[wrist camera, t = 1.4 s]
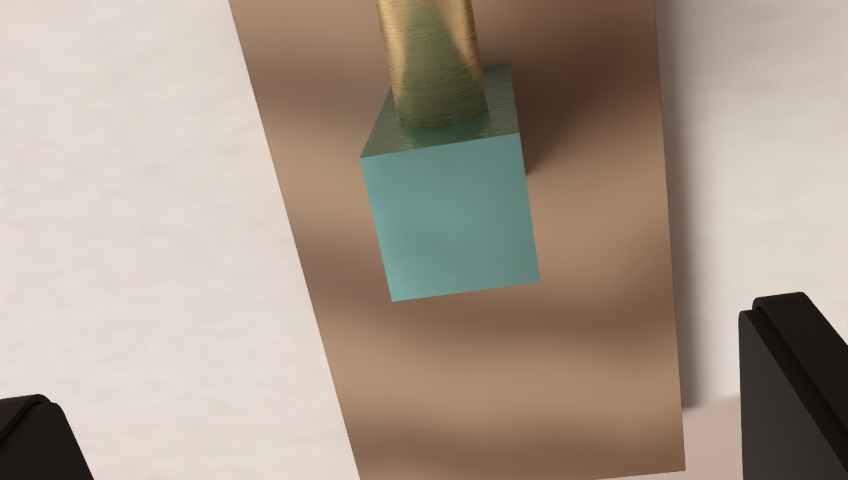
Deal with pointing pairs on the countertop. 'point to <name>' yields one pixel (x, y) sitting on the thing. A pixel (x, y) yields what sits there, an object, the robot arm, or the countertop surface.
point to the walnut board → (497, 307)
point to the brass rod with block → (446, 159)
